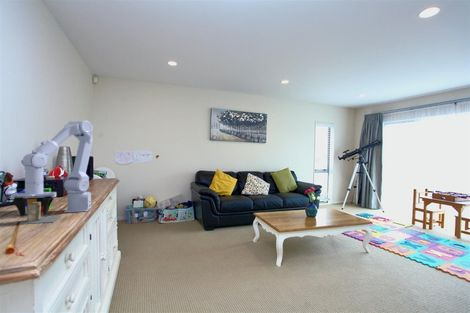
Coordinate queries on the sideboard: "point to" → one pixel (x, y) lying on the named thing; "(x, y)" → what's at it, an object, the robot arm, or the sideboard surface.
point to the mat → (42, 220)
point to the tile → (33, 211)
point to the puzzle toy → (35, 200)
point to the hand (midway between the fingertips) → (34, 215)
